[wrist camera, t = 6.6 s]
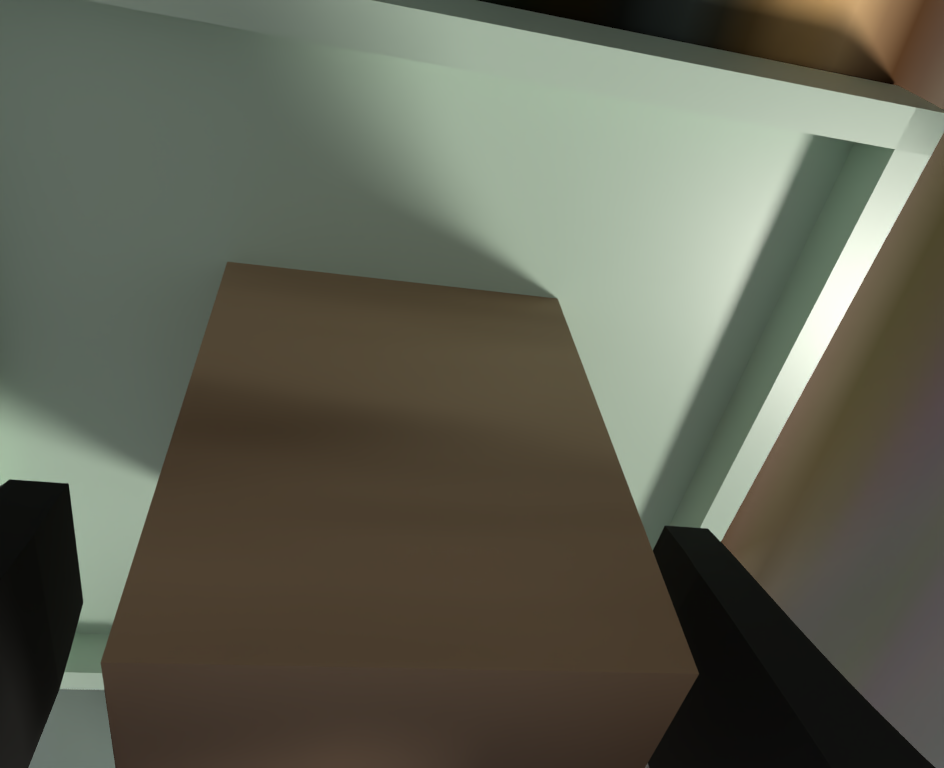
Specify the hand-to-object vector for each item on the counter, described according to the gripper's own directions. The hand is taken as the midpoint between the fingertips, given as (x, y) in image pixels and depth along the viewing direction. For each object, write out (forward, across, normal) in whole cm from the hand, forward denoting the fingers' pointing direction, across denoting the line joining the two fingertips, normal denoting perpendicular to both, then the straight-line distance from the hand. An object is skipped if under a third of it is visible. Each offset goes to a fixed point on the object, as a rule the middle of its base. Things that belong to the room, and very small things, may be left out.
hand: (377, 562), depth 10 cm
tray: (+3, 0, 0) cm, 3 cm away
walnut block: (+3, 0, 0) cm, 3 cm away
